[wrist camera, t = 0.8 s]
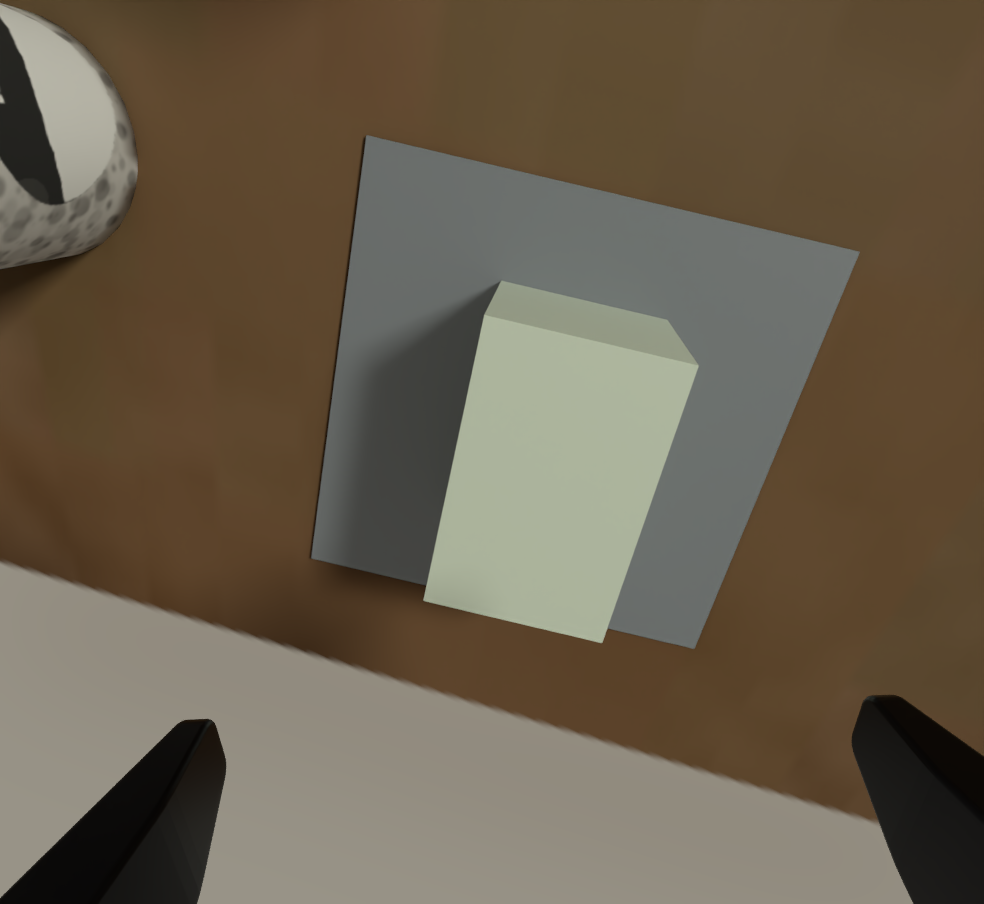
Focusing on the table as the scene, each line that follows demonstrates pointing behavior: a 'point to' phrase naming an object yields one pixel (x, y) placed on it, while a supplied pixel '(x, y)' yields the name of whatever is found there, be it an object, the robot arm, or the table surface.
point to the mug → (58, 144)
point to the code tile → (583, 275)
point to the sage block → (557, 459)
